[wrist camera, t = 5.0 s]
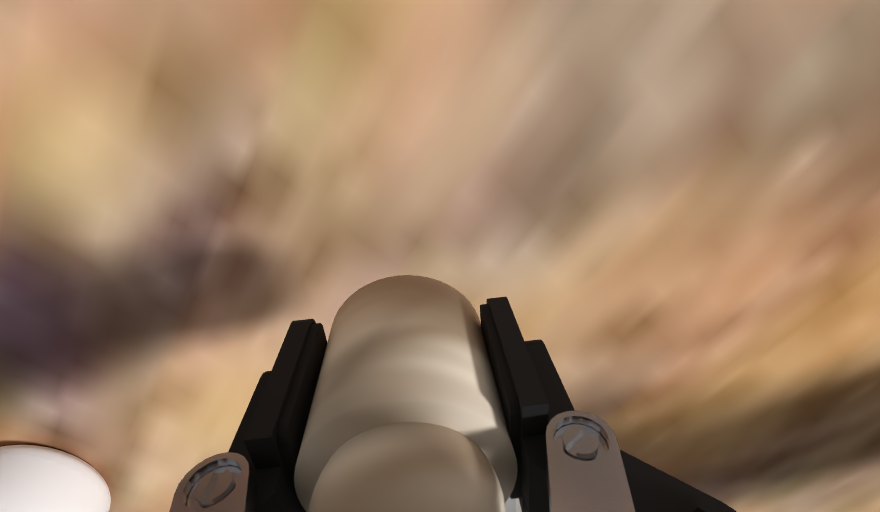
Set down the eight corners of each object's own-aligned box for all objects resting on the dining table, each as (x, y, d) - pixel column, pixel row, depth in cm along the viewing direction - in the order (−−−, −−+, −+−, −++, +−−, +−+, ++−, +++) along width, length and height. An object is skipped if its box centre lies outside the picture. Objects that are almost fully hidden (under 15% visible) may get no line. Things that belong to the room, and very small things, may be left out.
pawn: (478, 266, 12) (562, 530, 5) (484, 388, 14) (552, 683, 7) (315, 284, 11) (207, 575, 5) (346, 404, 13) (295, 719, 7)
